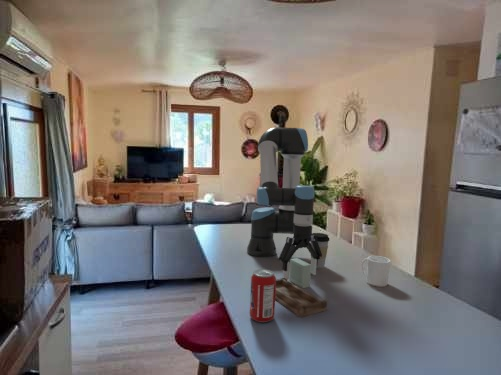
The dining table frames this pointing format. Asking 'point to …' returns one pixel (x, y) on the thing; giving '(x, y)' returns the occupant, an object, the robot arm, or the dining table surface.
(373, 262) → the mug
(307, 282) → the pale green block
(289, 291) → the wooden tray
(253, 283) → the soda can
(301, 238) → the robot arm
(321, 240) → the coffee cup
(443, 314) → the dining table surface
